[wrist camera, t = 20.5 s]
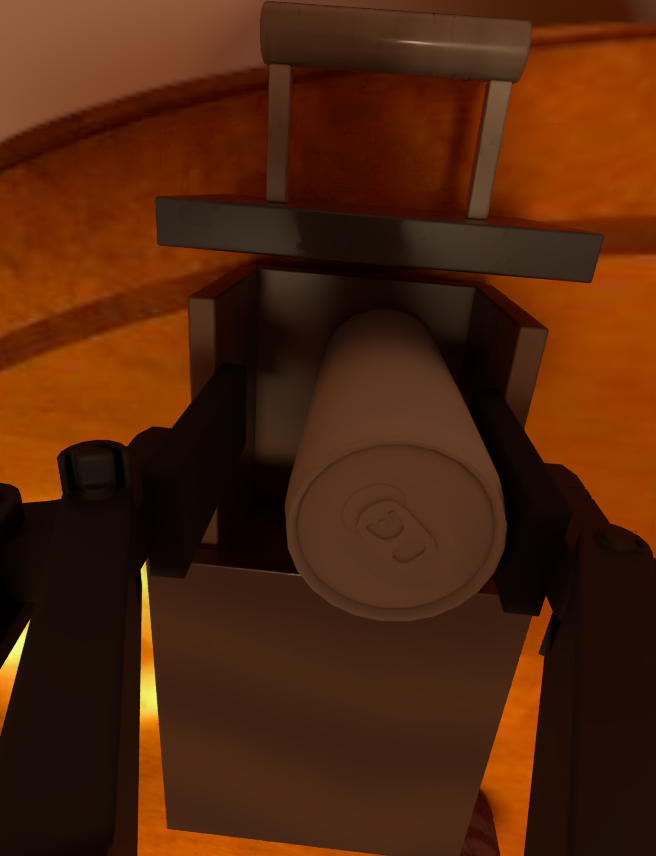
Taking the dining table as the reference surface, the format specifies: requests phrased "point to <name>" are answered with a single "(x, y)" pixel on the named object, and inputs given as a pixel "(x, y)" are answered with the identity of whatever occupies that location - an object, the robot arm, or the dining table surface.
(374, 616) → the beverage can
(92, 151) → the dining table surface
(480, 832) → the dark brown cylinder
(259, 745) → the cabinet
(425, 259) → the drawer
